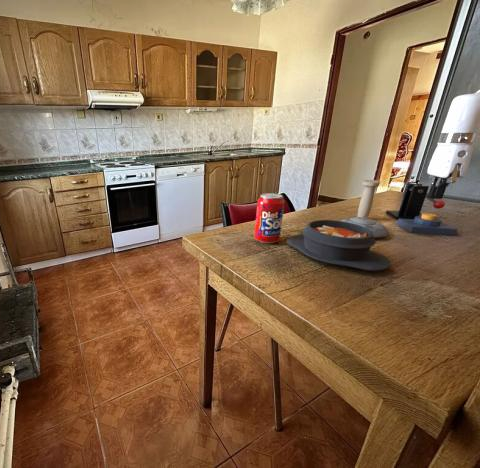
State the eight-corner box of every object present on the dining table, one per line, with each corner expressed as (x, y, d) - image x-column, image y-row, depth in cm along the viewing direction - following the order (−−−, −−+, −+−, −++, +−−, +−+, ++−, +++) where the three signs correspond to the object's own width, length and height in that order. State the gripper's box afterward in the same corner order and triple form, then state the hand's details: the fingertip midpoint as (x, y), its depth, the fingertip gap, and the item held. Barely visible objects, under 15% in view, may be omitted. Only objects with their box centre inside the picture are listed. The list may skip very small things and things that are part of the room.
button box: (437, 226, 91) (441, 215, 90) (455, 235, 83) (460, 223, 82) (396, 224, 95) (400, 213, 93) (410, 232, 87) (414, 221, 85)
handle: (370, 218, 101) (381, 180, 96) (367, 222, 97) (378, 183, 91) (356, 216, 104) (365, 179, 99) (352, 220, 100) (362, 181, 95)
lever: (435, 208, 100) (443, 202, 98) (441, 211, 97) (449, 204, 95) (407, 190, 100) (414, 183, 99) (411, 191, 97) (419, 184, 96)
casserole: (399, 262, 68) (409, 232, 65) (372, 286, 58) (382, 252, 55) (305, 235, 87) (309, 211, 84) (272, 250, 77) (276, 223, 74)
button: (431, 218, 89) (432, 213, 88) (437, 221, 86) (439, 216, 85) (418, 217, 90) (419, 212, 89) (424, 220, 87) (426, 215, 86)
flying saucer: (388, 244, 78) (393, 227, 76) (331, 235, 87) (334, 219, 85) (387, 230, 89) (391, 215, 87) (336, 223, 98) (339, 209, 96)
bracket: (417, 214, 104) (428, 183, 100) (431, 221, 96) (444, 187, 92) (385, 213, 107) (394, 182, 103) (396, 219, 99) (406, 186, 95)
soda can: (261, 234, 89) (266, 191, 84) (283, 240, 83) (290, 195, 78) (249, 240, 84) (253, 195, 79) (271, 247, 79) (277, 199, 73)
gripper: (492, 140, 71) (465, 204, 77) (453, 139, 84) (433, 194, 91) (458, 140, 73) (434, 203, 79) (425, 139, 86) (408, 193, 93)
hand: (434, 198), depth 85 cm, fingers closed
